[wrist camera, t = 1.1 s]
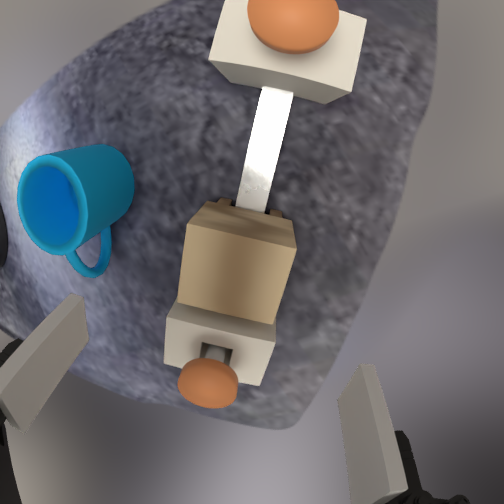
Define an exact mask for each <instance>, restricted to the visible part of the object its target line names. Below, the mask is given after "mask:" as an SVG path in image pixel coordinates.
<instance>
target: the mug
mask: <svg viewBox="0 0 504 504" xmlns="http://www.w3.org/2000/svg"><path fill="white" fill-rule="evenodd" d="M134 191H135V188H134V176H133V173H132V170H131V167H130V164H129V163H128V161H127V160H126V158H125V157H124V155H123V154H122V153H121V152H119V151H118V150H117V149H115V148H114V147H112V146H108V145H105V144H97V145H90V146H84V147H79V148H74V149H69V150H64V151H59V152H55V153H50V154H46V155H42V156H38V157H36V158H35V159H34V160H32V161H31V162H29V163H28V165H27V166H26V168H25V169H24V171H23V172H22V174H21V178H20V181H19V184H18V191H17V204H18V210H19V216H20V219H21V221H22V224H23V226H24V229H25V230H26V232H27V234H28V235H29V237H30V238H31V240H32V241H33V242H34V243H35V244H36V245H37V246H38V247H39V248H41V249H42V250H44V251H46V252H48V253H50V254H52V255H65V256H66V258H67V260H68V261H69V263H70V264H71V265H72V267H73V268H74V269H75V270H76V271H77V272H78V273H80V274H81V275H82V276H84V277H90V278H96V277H98V276H99V275H101V274H103V273H104V271H105V270H106V268H107V266H108V264H109V260H110V256H111V246H112V240H111V228H110V225H111V224H112V223H114V222H115V221H117V220H118V219H119V218H121V217H122V216H123V215H124V214H125V213H126V212H127V210H128V208H129V207H130V205H131V203H132V200H133V195H134ZM99 232H101V252H100V257H99V260H98V263H97V264H96V266H95V267H93V268H89V267H87V266H86V265H85V264H84V263H83V262H82V261H81V259H80V258H79V256H78V255H77V253H76V249H77V248H78V247H80V246H81V245H82V244H84V243H85V242H87V241H88V240H89V239H91V238H92V237H94V236H95V235H96V234H98V233H99Z"/></svg>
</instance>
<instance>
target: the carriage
mask: <svg viewBox="0 0 504 504" xmlns="http://www.w3.org/2000/svg"><path fill="white" fill-rule="evenodd" d="M231 203H232V200H231V199H226V198H222V197H221V198H220V199H219V201H218V202H217V203H215V202H211V201H207V202H206V203H205V204H204V205H203V206H202V207H201V208H200V209H199V211H198V212H197V213H196V214H195V215H194V216H193V217H192V218H191V220H190V221H189V222H188V223H187V228H186V235H185V242H184V249H183V256H182V264H181V272H180V280H179V289H178V298H177V302H179V303H182V304H186V305H190V306H194V307H198V308H202V309H206V310H210V311H214V312H218V313H222V314H227V315H231V316H235V317H240V318H244V319H248V320H253V321H258V322H262V323H267V324H272V325H273V322H274V319H275V316H276V313H277V310H278V307H279V304H280V301H281V298H282V295H283V292H284V289H285V286H286V282H287V279H288V276H289V273H290V270H291V266H292V263H293V260H294V257H295V254H296V250H297V247H296V241H295V236H294V230H293V224H292V220H288V219H284V218H282V211H278V210H274V209H270V213H269V215H267V214H263V213H259V212H255V211H250V210H246V209H242V208H237V207H233V206H231Z"/></svg>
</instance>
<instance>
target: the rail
mask: <svg viewBox="0 0 504 504" xmlns="http://www.w3.org/2000/svg"><path fill="white" fill-rule="evenodd" d="M293 94H294V93H293V92H289V91H285V90H280V89H276V88H272V87H267V86H263V88H262V92H261V96H260V100H259V104H258V108H257V112H256V117H255V121H254V125H253V129H252V134H251V138H250V142H249V147H248V151H247V156H246V160H245V164H244V169H243V173H242V178H241V182H240V187H239V192H238V196H237V201H236V205H235V207H237V208H242V209H246V210H250V211H255V212H259V213H263V214H264V212H265V208H266V204H267V199H268V195H269V191H270V187H271V183H272V179H273V175H274V171H275V167H276V163H277V159H278V155H279V151H280V147H281V143H282V139H283V135H284V131H285V126H286V122H287V118H288V114H289V110H290V106H291V102H292V98H293Z"/></svg>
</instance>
